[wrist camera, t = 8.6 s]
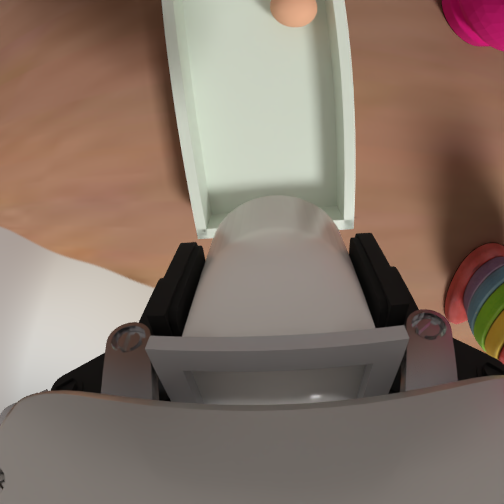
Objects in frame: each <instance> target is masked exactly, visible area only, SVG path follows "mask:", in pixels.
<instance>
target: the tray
mask: <svg viewBox="0 0 504 504" xmlns="http://www.w3.org/2000/svg"><path fill="white" fill-rule="evenodd" d="M270 2H271V0H162V10H163V20H164V29H165V38H166V47H167V55H168V63H169V71H170V78H171V85H172V92H173V99H174V106H175V113H176V119H177V126H178V132H179V138H180V144H181V150H182V156H183V162H184V168H185V173H186V179H187V184H188V190H189V195H190V200H191V206H192V211H193V216H194V221H195V226H196V231H197V236H198V239H205V238H213V237H214V235H215V232H216V230H217V228H218V226H219V225H220V223H221V222H222V221H223V219H224V218H225V217H226V216H227V215H228V214H229V213H230V212H232V211H233V210H234V209H236V208H237V207H238V206H240V205H242V204H244V203H246V202H248V201H251V200H253V199H256V198H260V197H264V196H272V195H284V196H292V197H296V198H300V199H303V200H306V201H308V202H310V203H312V204H314V205H316V206H317V207H319V208H320V209H322V210H323V211H324V212H325V213H326V214H327V215H328V216H329V217H330V218H331V219H332V220H333V221H334V223H335V224H336V226H337V228H338V230H344V229H354V207H355V113H354V92H353V76H352V63H351V51H350V41H349V32H348V24H347V16H346V8H345V1H344V0H316V3H317V14H316V16H315V18H314V19H313V20H312V21H311V22H310V23H309V24H307V25H305V26H302V27H288V26H285V25H283V24H281V23H279V22H278V21H277V20H276V19H275V18H274V17H273V15H272V13H271V10H270Z"/></svg>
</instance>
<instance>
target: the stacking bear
mask: <svg viewBox="0 0 504 504" xmlns="http://www.w3.org/2000/svg"><path fill="white" fill-rule="evenodd" d="M445 315H446V318H447V319H448V321H449V322H452V323H454V324H459V323H462V322H465V321H467V320H468V323H469V326H470V328H471V331H472V333H473V335H474V337H475V339H476V341H477V342H478V344H479V345H480V346H481V347H482V349H483V350H484V351H485V352H487V354H488V355H490V356H492V357H494V358H496V359H498V360H499V361H501V362H502V363H503V364H504V247H503V246H502V245H500V244H497V243H489V244H485V245H482V246H480V247H478V248H477V249H475V250H474V251H473V252H471V253H470V254H469V255H468V256H467V257H466V258H465V259H464V261H463V262H462V263H461V265H460V266H459V268H458V270H457V271H456V273H455V275H454V277H453V279H452V282H451V284H450V287H449V290H448V293H447V297H446V302H445Z"/></svg>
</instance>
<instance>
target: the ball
mask: <svg viewBox="0 0 504 504" xmlns="http://www.w3.org/2000/svg"><path fill="white" fill-rule="evenodd" d="M270 10H271V13H272V15H273V17H274V18H275V19H276V20H277V21H278V22H279V23H281V24H283V25H285V26H288V27H302V26H305V25H307V24H309V23H310V22H311V21H312V20H313V19H314V18H315V16H316V14H317V3H316V0H271V2H270Z"/></svg>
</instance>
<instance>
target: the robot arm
mask: <svg viewBox="0 0 504 504" xmlns="http://www.w3.org/2000/svg"><path fill="white" fill-rule="evenodd" d="M349 256H350V259H351V261H352V264H353V267H354V269H355V272H356V274H357V277H358V280H359V282H360V285H361V288H362V291H363V293H364V296H365V299H366V302H367V305H368V307H369V310H370V313H371V316H372V319H373V322H374V325H375V328H384V327H392V326H401V325H404V326H405V329H406V331H407V333H408V336H409V341H408V344H407V347H406V350H405V353H404V355H403V358H402V361H401V363H400V366H399V369H398V371H397V374H396V376H395V379H394V381H393V384H392V386H391V388H390V391H389V393H388V394H387V395H380V396H373V397H365V398H357V399H348V400H338V401H327V402H315V403H299V404H275V405H224V404H198V403H182V402H171V400H170V398H169V396H168V394H167V392H166V390H165V389H164V387H163V385H162V383H161V381H160V379H159V377H158V375H157V373H156V371H155V369H154V367H153V365H152V363H151V361H150V359H149V357H148V354H147V352H146V350H145V347H146V345H147V342H148V340H149V337H150V336H174V337H182V334H183V331H184V328H185V324H186V321H187V318H188V315H189V311H190V308H191V305H192V302H193V299H194V295H195V292H196V289H197V286H198V283H199V280H200V277H201V273H202V270H203V267H204V264H205V257H204V252H203V248H202V246H198V245H197V243H196V242H191V243H181V244H180V245H179V247H178V249H177V251H176V253H175V255H174V258H173V260H172V262H171V264H170V266H169V268H168V270H167V272H166V274H165V276H164V278H161V279H160V280H159V281H158V283H157V285H156V287H155V289H154V291H153V293H152V295H151V297H150V300H149V302H148V304H147V306H146V308H145V310H144V313H143V314H142V317H141V319H140V321H139V323H137V322H133V323H127V324H124V325H121V326H119V327H118V328H116V329H115V330H114V331H113V332H112V333H111V334H110V336H109V337H108V339H107V343H106V350H105V353H104V354H102V355H100V356H98V357H96V358H95V359H93V360H91V361H89V362H88V363H85V364H83V365H82V366H80V367H78V368H76V369H74V370H72V371H71V372H69V373H67V374H65V375H63V376H62V377H60V378H59V379H58V380H57V381H56V382H55V383H54V385H53V387H52V388H51V391H48V390H47V389H46V390H44V391H42V392H40V393H35V394H32V395H29V396H26V397H24V398H22V399H21V400H19V401H18V402H17V403H14V404H12V405H10V406H8V407H7V408H5V409H4V410H3V412H2V413H1V415H0V504H504V364H503V363H502V362H501V361H499V360H498V359H496V358H494V357H492V356H490V355H488V354H486V353H483V352H481V351H479V350H477V349H475V348H473V347H471V346H469V345H467V344H465V343H463V342H461V341H459V340H456V339H454V338H453V337H452V331H451V326H450V324H449V322H448V320H447V319H446V318H445V317H444V316H443V315H441V314H440V313H438V312H435V311H432V310H427V309H426V310H419V309H418V307H417V305H416V303H415V301H414V299H413V297H412V296H411V294H410V292H409V290H408V288H407V286H406V284H405V282H404V281H403V279H402V277H401V275H400V273H399V272H398V270H397V268H396V267H394V266H393V267H390V265H389V263H388V261H387V259H386V258H385V256H384V254H383V252H382V250H381V249H380V247H379V245H378V243H377V242H376V240H375V238H374V236H373V235H372V233H359V234H356V235H355V238H351V239H350V248H349Z"/></svg>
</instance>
